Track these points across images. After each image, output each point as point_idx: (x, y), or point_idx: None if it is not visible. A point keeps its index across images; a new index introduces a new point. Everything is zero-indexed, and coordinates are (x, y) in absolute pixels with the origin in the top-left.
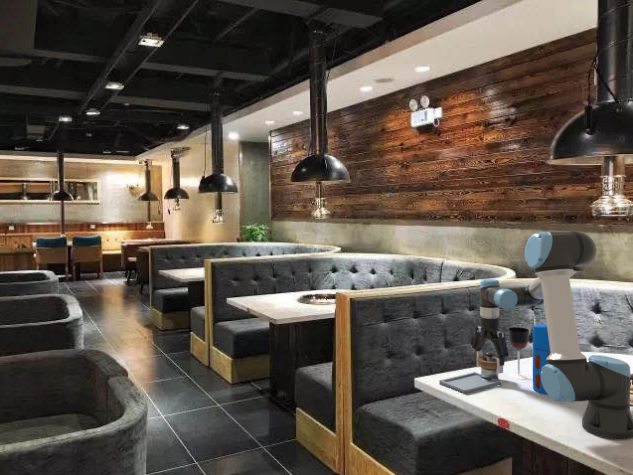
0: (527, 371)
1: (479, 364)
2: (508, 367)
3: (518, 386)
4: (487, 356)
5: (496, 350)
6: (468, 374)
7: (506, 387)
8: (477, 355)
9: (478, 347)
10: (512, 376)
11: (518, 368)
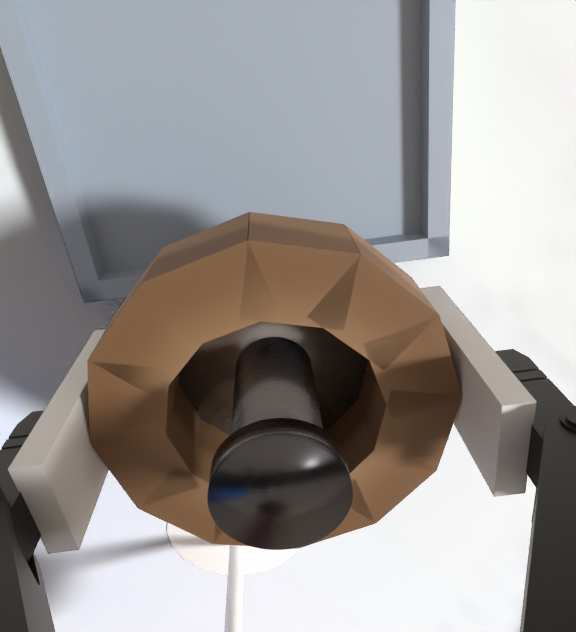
0: (297, 621)
1: (293, 227)
2: (432, 580)
3: (17, 390)
4: (275, 417)
5: (6, 583)
6: (427, 134)
7: (17, 286)
8: (488, 364)
9: (541, 473)
10: None
11: (229, 583)
